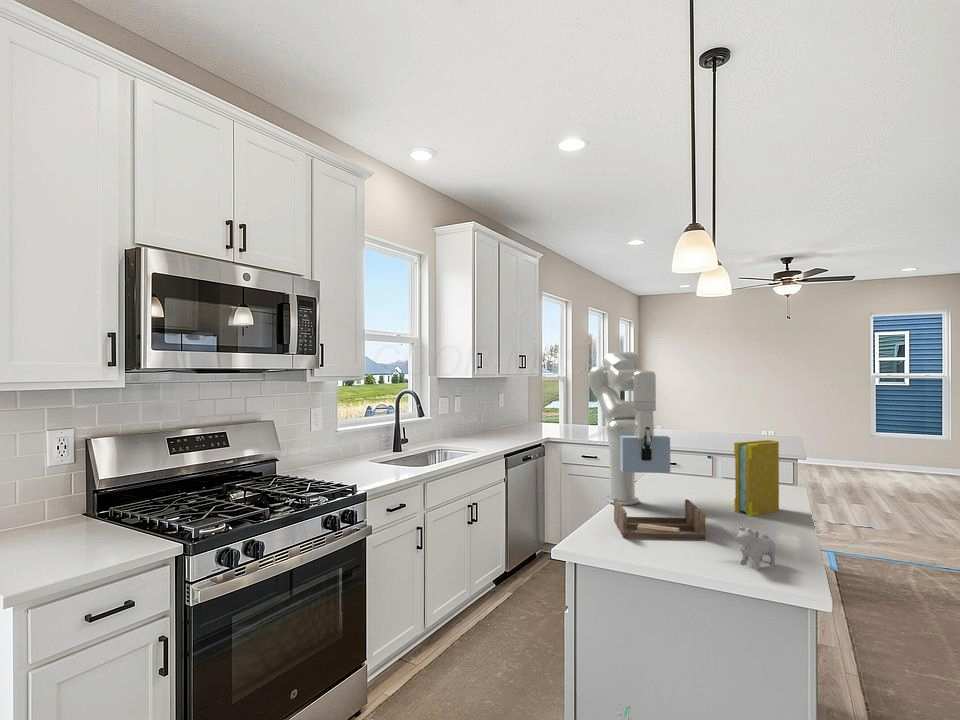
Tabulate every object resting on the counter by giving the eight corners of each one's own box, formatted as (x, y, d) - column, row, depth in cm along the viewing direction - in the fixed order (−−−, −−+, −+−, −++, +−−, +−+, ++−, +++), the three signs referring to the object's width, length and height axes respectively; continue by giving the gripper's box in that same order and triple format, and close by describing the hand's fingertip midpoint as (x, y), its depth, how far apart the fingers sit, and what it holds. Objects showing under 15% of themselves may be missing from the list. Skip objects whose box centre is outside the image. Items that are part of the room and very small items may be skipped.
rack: (614, 525, 188) (614, 498, 188) (688, 526, 186) (688, 499, 186) (623, 542, 170) (623, 512, 170) (705, 544, 168) (705, 514, 168)
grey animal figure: (729, 566, 151) (729, 526, 151) (761, 558, 157) (760, 519, 157) (747, 573, 146) (747, 531, 146) (779, 564, 152) (778, 524, 152)
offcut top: (639, 529, 179) (639, 523, 179) (679, 534, 174) (679, 528, 174) (637, 533, 175) (637, 526, 175) (677, 538, 170) (677, 531, 170)
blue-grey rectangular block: (620, 469, 200) (620, 435, 200) (666, 470, 199) (666, 435, 199) (622, 472, 195) (622, 437, 195) (670, 472, 194) (670, 437, 194)
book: (750, 516, 199) (749, 445, 199) (734, 511, 205) (734, 442, 205) (783, 510, 206) (783, 441, 206) (767, 506, 212) (767, 439, 212)
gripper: (629, 404, 206) (629, 454, 206) (638, 408, 189) (638, 463, 189) (650, 404, 205) (650, 454, 205) (661, 408, 188) (661, 463, 188)
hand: (644, 458), depth 197 cm, fingers closed on blue-grey rectangular block, 5 cm apart
